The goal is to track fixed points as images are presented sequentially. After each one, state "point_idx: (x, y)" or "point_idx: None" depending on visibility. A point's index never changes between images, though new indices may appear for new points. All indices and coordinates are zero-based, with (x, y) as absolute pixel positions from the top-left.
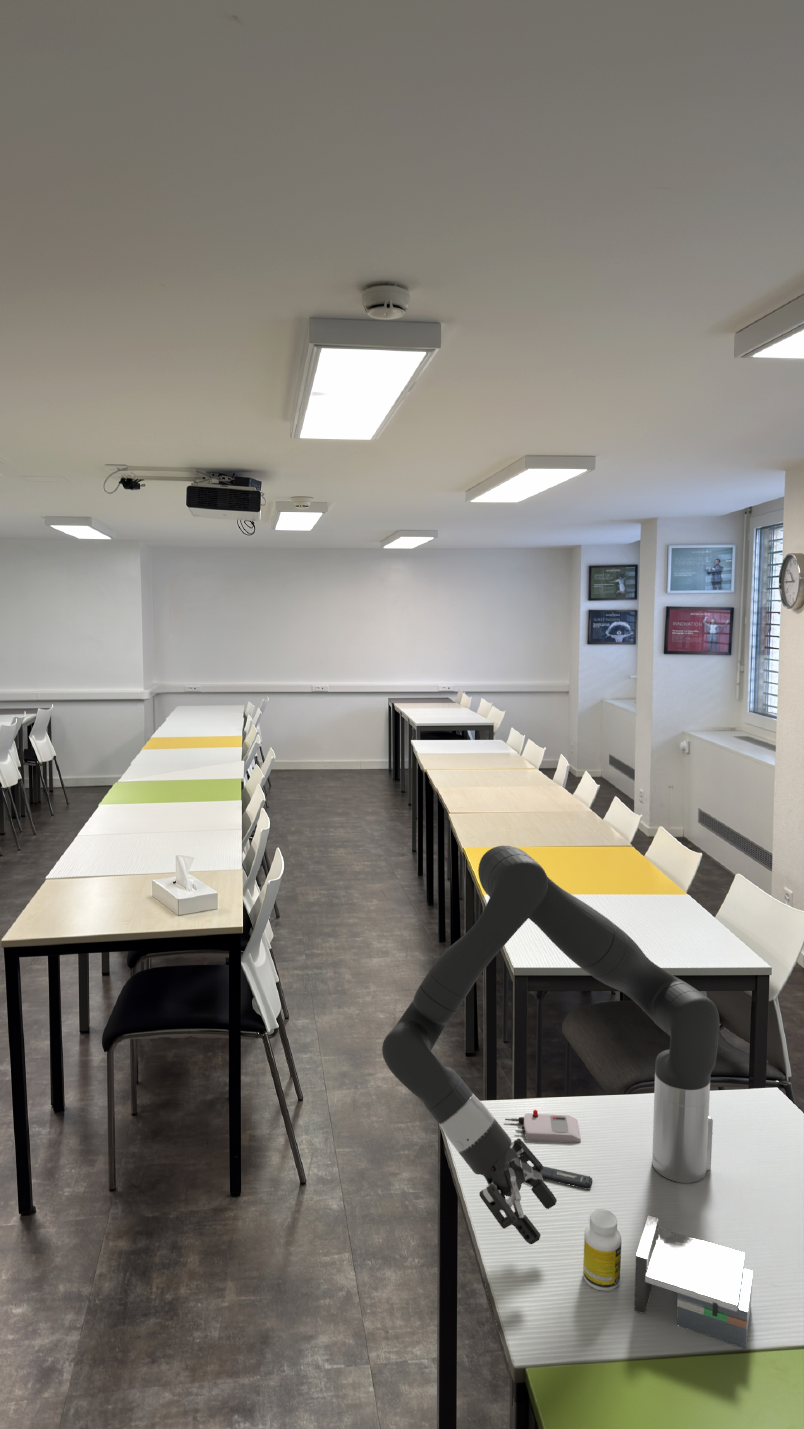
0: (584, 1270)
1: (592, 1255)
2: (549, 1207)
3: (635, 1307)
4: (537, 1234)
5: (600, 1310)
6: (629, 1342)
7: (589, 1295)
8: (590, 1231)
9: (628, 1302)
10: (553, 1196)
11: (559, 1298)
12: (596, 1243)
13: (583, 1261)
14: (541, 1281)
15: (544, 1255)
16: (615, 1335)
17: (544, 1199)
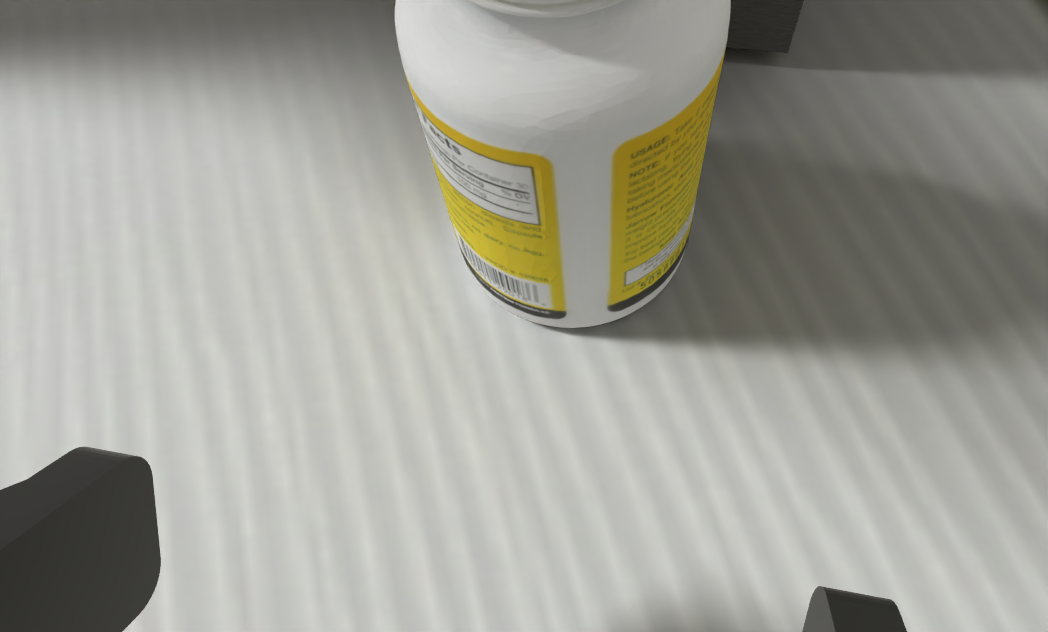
0: (628, 288)
1: (704, 127)
2: (153, 551)
3: (790, 33)
4: (891, 625)
5: (835, 218)
6: (995, 74)
7: (739, 284)
8: (606, 42)
9: None
10: (52, 476)
11: (845, 464)
12: (718, 10)
13: (589, 280)
14: (730, 615)
15: (449, 621)
16: (985, 135)
17: (73, 612)
